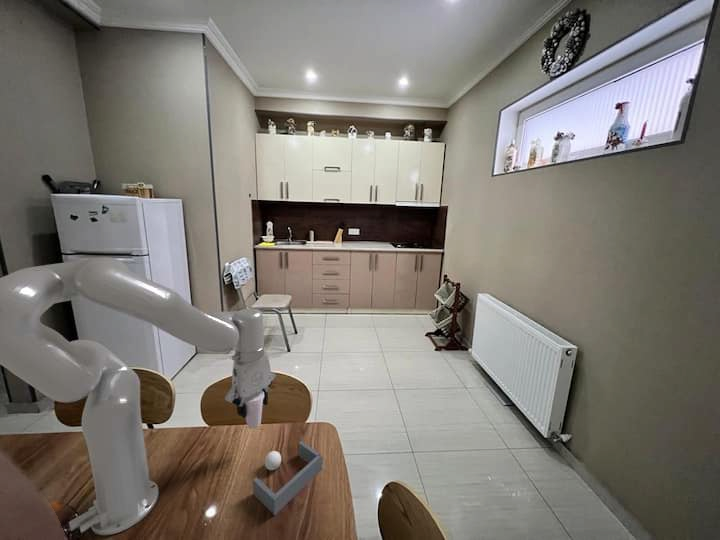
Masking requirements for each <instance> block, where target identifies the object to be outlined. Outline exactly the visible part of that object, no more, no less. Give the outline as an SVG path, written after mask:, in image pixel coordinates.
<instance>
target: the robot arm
mask: <svg viewBox="0 0 720 540" xmlns="http://www.w3.org/2000/svg"><path fill="white" fill-rule="evenodd" d="M79 299H84V300H86V301H89V302H91V303H93V304H97V305H99V306H102V307H103V308H107V309H110V310H113V311H116V312H119V313H121V314H124V315H127V316H129V317H132V318H135V319H137V320H140V321H143V322H146V323H149V324H151V325H152V326H154V327H155V328H157V329H159V330H161V331H163V332H165V333H167V334H169V335H171V336H173V337H174V338H176V339H178V340H180V341H182V342H183V343H187V344H189V345H192V346H194V347H197V348H199V349H203V350H206V351H208V352H212V353H217V354H218V353H219V354H220V353H226V352H227V353H228V352H229V351H232V349H234V348H235V350H234V354H233V355H231V360H232V361H233V363H232V365H233V366H232V372H231V373H232V375H231V376H232V377H231V378H232V379H231V385H232V386H231V387H230V390H229V391H228V393H226V395H225V397H224V400H225V401H227V402H229V403H231V404H234V405H235V406H236V414H237V415H238V416H240V417H242V418H243V419H246V416H247V415H246V405H245V404H244V402H245V399H246V397H248V396H250V395H252V394H254V393H256V392H258V391H260V390H263V392H264V398H263V405H264V406H267V405H268V402H269V400H268V399H269V396H268V393H269V391H270V388H271V385H272V383H273V381H274V379H275V377H276V375H277V374H276V373H275V372H272V369H271V365H270V364H271V363H270V360H269V356H268V353H267V352H266V351H265V339H264V317H263V312H262V311H261V310H259V309H257V308H243V309H240V310H236V311H233V310H232V311H214V312H211V313H208V314H207V313H205V312H203V311H202V310H200V309H198V308H197V307H195V306H194V305H192V304H191V303H190V302H188V301H187V300H186V299H185V298H184V297H183V296H181V295H180V294H179V292H177V291H175V290H173V289H172V288H169V287H166V286H164V285H162V284H160V283H158V282H156V281H153V280H151V279H148V278H146V277H144V276H143V275H140V274H137V273H136V272H133V271H131V270H129V268H128V267H127V265H126V264H125V263H124V262H122V261H121V260H119V259H116V258H113V257H108V256H107V257H106V256H104V257H94V258H87V259H82V260H81V259H80V260H75V261H74V260H73V261H66V262H60V263H53V264H45V265H44V264H43V265H37V266H32V267H31V266H30V267H26V268H22V269H18V270H16V271H13V272H11V273H10V274H7V275H4V276H2V277H0V366H2V367H4V368H5V369H7V370H8V371H9V372H10V373H12V374H13V375H14V376H16V377H18V378H19V379H20V380H22V381H23V382H25V383H26V384H28V385H30V387H33V388H34V389H35V390H37V391H38V392H40V393H41V394H43V395H44V396H46V397H47V398H49V399H50V400H53V401H56V402H59V403H73V402H77V401H79V400H80V401H81V400H82V399H84V398H85V397H87V398H86V401H85V404H84V407H83V411H82V416H81V429H82V430H81V431H82V435H83V437H84V440H85V442H86V446H87V451H88V454H89V461H90V462H89V463H90V465H91V472H92V473H91V474H92V478H93V484H94V490H95V497H96V499H94V500H93V502H92V503H93V505H92V506H91V507H89V508H88V511H86V512H83V514H81V515H79V516H77V517H75V518H74V519H72V520H70V521H69V522H68V525H69V528H70V532H72V531H74V530H76V529H77V528H79V530H80V533H81V534H82V533H84V532H85V531H87V530H88V529H91V530H92V532H93V533H94V534H96V535H100V536H109V535H114V534H117V533H118V534H119V533H120V532H123V531H125V530H127V529H129V528H131V527H132V526H134V525H136V524H137V523H139V522H140V521H141V520H143V518H144V517H146V516H147V515H148V514H149V512H151V510H152V509H153V508H154V507H155V505H156V503H157V501H158V499H159V494H160V493H159V487H158V484H157V483H156V482H155V481H153V480H150V474H149V468H148V466H149V465H148V459H147V458H148V457H147V449H146V442H145V435H144V434H145V433H144V428H143V420H142V414H141V413H142V412H141V411H142V409H141V380H140V378H139V376H138V374H137V373H136V372H135V370H134V369H132V368H131V367H129V366H128V365H127V364H126V363H125V362H124V361H123V360H121V359H120V358H119V357H118V356H117V355H115V354H114V353H113V352H112V351H110V350H109V349H108V348H107V347H106V346H104V345H103V344H102V343H99V342H96V341H94V340H91V339H76V340H72V341H69V340H68V339H66V338H65V337H64V336H63V335H61V333H59V332H58V331H56V330H55V329H53V328H51V327H49V326H47V325H45V324H43V323H42V322H41V320H40V318H41V317H42V315H43V314H44V313H45V312H46V311H47V310H49V308H51V307H52V306H53V305H54V304H58V303H63V302H69V301H72V300H73V301H75V300H79ZM235 395H236V396H235ZM234 396H235V397H234Z"/></svg>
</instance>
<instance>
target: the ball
mask: <svg viewBox="0 0 720 540" xmlns="http://www.w3.org/2000/svg"><path fill="white" fill-rule="evenodd" d="M264 458H265V459H264V466H265V468H266V469H267V470H269V471H274V470H277V469H278V468H279V467H280V465H281V463H282V456H281V453H280V452H278V451H275V450H272V451H270V452H269V453H268V454H266V456H265V457H264Z"/></svg>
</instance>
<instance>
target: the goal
mask: <svg viewBox="0 0 720 540" xmlns="http://www.w3.org/2000/svg"><path fill="white" fill-rule="evenodd" d="M298 456H299V457H300V458H301V459H302V460H304V461H305V462H306V463H307V464H306V465H305V466H304V467H303V468H302V469H301V470H300V471H299V472H298V473H296V475H294V476H293V477H292V478H291V479H290V480H289V481H288V482H287V483H286V484H285V485H283V486H282V487H281V488H280V489H279V490H278V491H277V492H276V493H275V492H273V491H272V490H271V489H270V488H269V487H268V486H267V485H266V484H265V483H264V482H263V481H261V480H260V479H259V478H258V477H257V476H255V478H253V479H252V485H253V486H252V487H253V489H252V491H253V495H254V497H256V499H257V500H258V501H260V503H261V504H262V505H264V507H266V508H267V510H268V511H270V513H271V514H272V515H273V516H276V515H277V514H278V513H279V512H280V511H281V510H282V509H283V508H284V507H285V506H286V505H288V503H289V502H290V501H291V500H292V499H294V497H295V496H297V494H298V493H299V492H300V491H301V490H302V489H304V488H305V487H306V485H308V483H309V482H310V481H312V479H314V478H315V477H316V476H317V474H319V473H320V472H321V471H322V470H323V454H321V453H319V452H318V451H317V450H316V449H314V448H312V447H311V446H310V445H308V444H307V443H306V442H304V441H302V440H301V441H299V442H298Z"/></svg>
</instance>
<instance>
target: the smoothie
mask: <svg viewBox="0 0 720 540" xmlns="http://www.w3.org/2000/svg"><path fill="white" fill-rule="evenodd" d="M263 398H264V392H263V390H260V391H258V392H256V393H254V394H252V395H250V396H248V397H246V399H245V402H244V404H245V405H246V415H247V416H246V418H245V420H246V425H247V428H249V429H251V430H253V429H257V428H258V427H260V426H261V423H262V414H263V405H264V404H263Z"/></svg>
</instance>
